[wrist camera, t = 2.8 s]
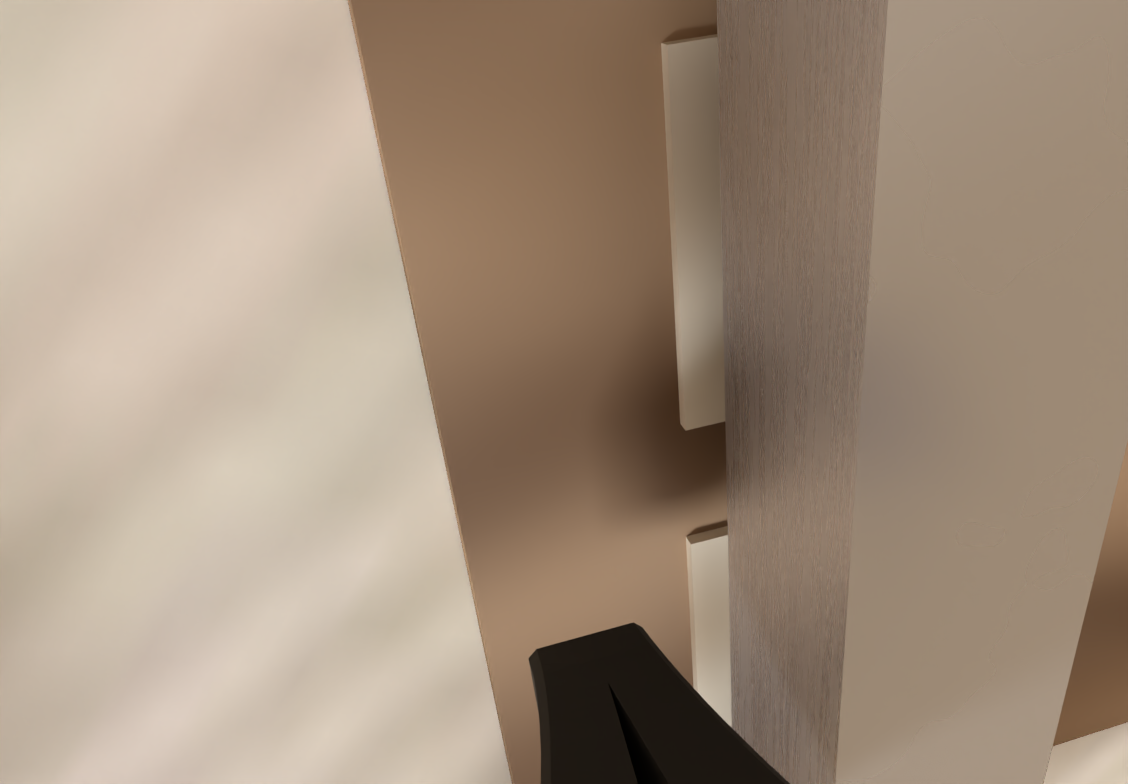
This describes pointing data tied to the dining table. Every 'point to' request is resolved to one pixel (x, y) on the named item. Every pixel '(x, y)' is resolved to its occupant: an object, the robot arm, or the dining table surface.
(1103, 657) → the label board
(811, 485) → the swing bar
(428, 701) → the dining table surface
